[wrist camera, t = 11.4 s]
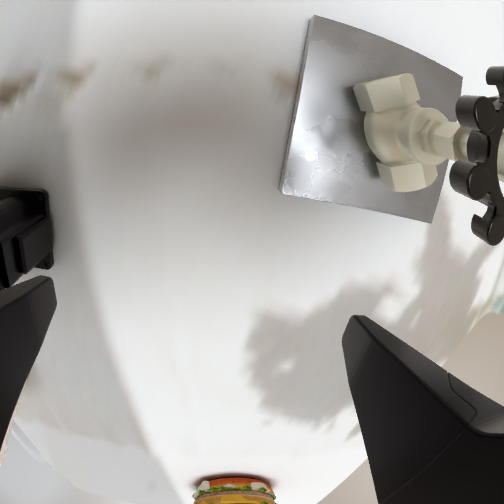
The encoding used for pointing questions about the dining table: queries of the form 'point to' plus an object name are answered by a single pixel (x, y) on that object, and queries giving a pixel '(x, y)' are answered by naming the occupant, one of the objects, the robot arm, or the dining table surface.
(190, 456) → the dining table surface
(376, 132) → the valve
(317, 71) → the steel seat plate
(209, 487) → the burger
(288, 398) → the dining table surface
